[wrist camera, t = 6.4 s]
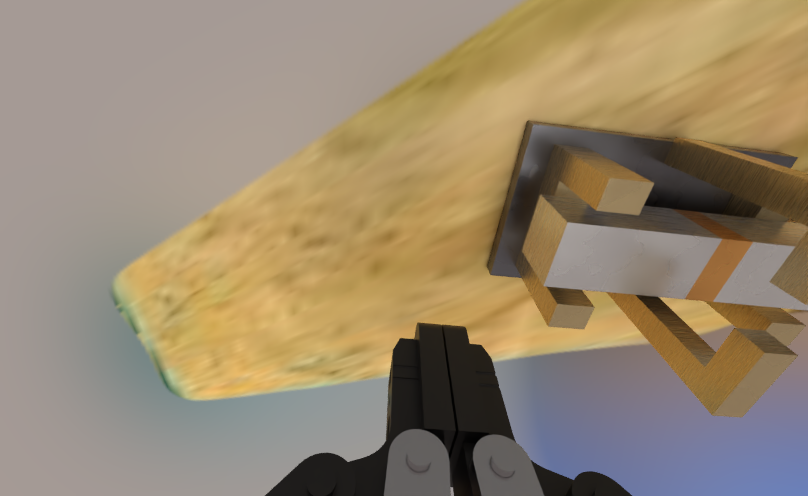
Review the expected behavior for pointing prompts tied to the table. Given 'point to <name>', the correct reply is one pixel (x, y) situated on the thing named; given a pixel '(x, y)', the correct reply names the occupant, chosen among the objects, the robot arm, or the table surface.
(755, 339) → the bridge
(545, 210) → the rod
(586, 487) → the robot arm
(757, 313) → the tan bracket pieces
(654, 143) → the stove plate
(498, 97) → the table surface
